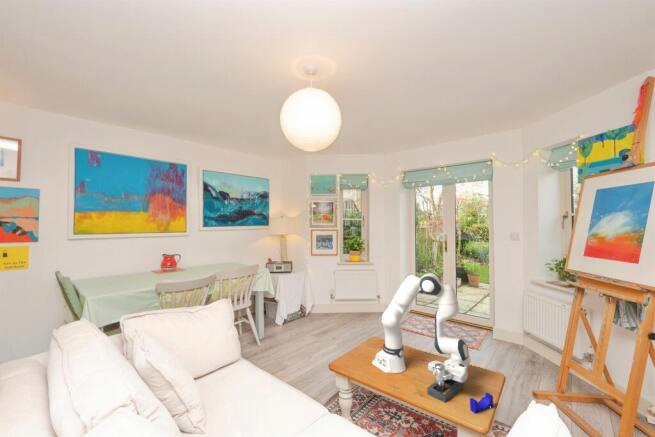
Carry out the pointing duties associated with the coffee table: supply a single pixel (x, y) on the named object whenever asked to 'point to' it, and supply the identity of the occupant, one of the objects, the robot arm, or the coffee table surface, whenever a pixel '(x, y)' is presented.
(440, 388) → the steel bushing
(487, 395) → the cable clip
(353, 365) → the coffee table surface
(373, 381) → the coffee table surface
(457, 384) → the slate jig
